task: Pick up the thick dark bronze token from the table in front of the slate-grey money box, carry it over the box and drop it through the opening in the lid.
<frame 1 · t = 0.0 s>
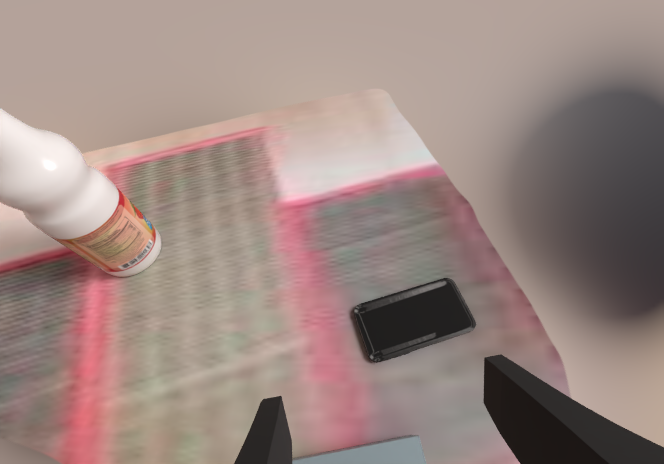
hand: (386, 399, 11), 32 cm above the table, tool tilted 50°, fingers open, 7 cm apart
phone: (412, 320, 45), on the table
fruit juice: (134, 251, 52), on the table
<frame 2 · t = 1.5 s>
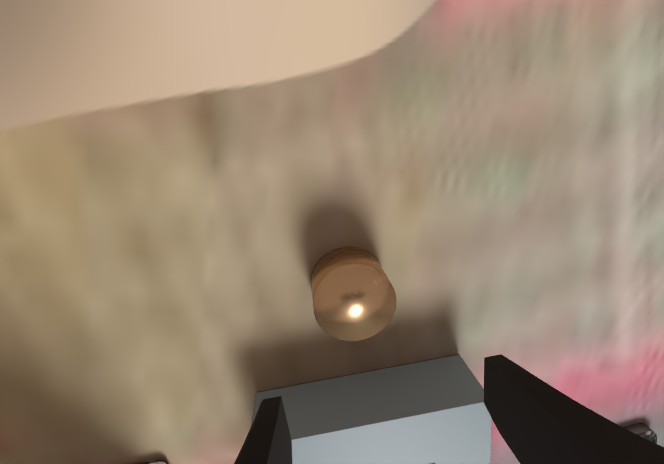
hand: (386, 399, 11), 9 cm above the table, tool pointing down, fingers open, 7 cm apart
token: (346, 280, 20), on the table
money box: (369, 448, 25), on the table
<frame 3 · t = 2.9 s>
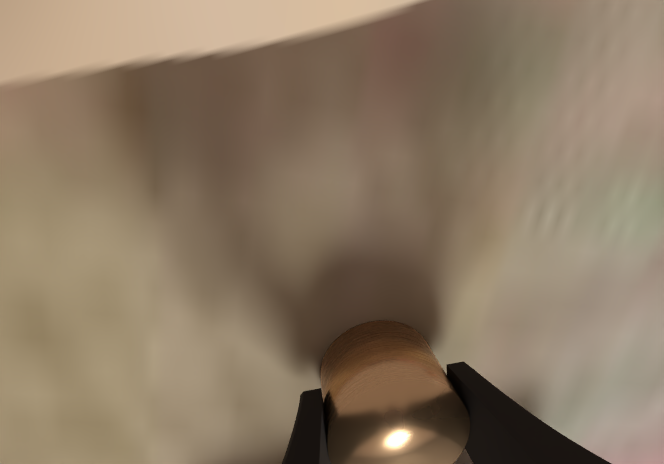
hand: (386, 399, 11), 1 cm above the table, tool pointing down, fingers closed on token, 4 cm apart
token: (376, 369, 13), on the table, touching gripper
when the fingers open (6 cm above the table, at t = 5.7 s): token drops 5 cm, resting in money box.
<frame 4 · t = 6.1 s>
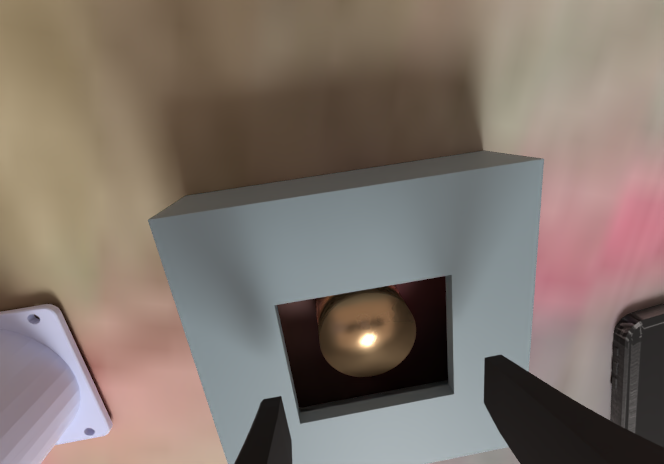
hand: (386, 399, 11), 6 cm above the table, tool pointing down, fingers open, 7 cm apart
phone: (656, 388, 23), on the table
token: (356, 302, 18), resting in money box
money box: (355, 303, 17), on the table
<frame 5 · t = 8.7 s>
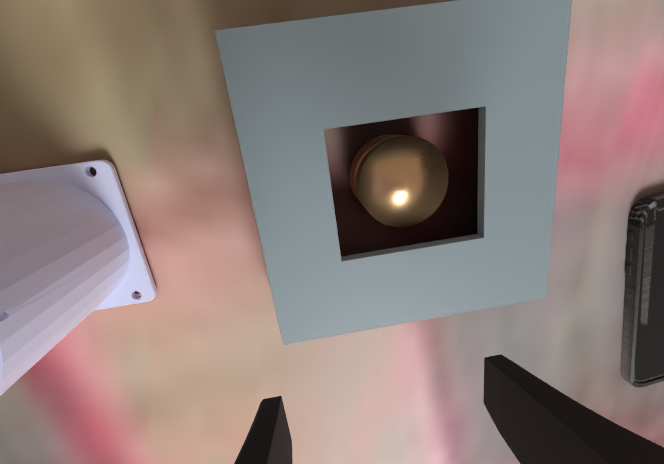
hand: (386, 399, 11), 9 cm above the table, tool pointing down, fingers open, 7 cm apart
token: (387, 174, 19), resting in money box
money box: (386, 175, 19), on the table
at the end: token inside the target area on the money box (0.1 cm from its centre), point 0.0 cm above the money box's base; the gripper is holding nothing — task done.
